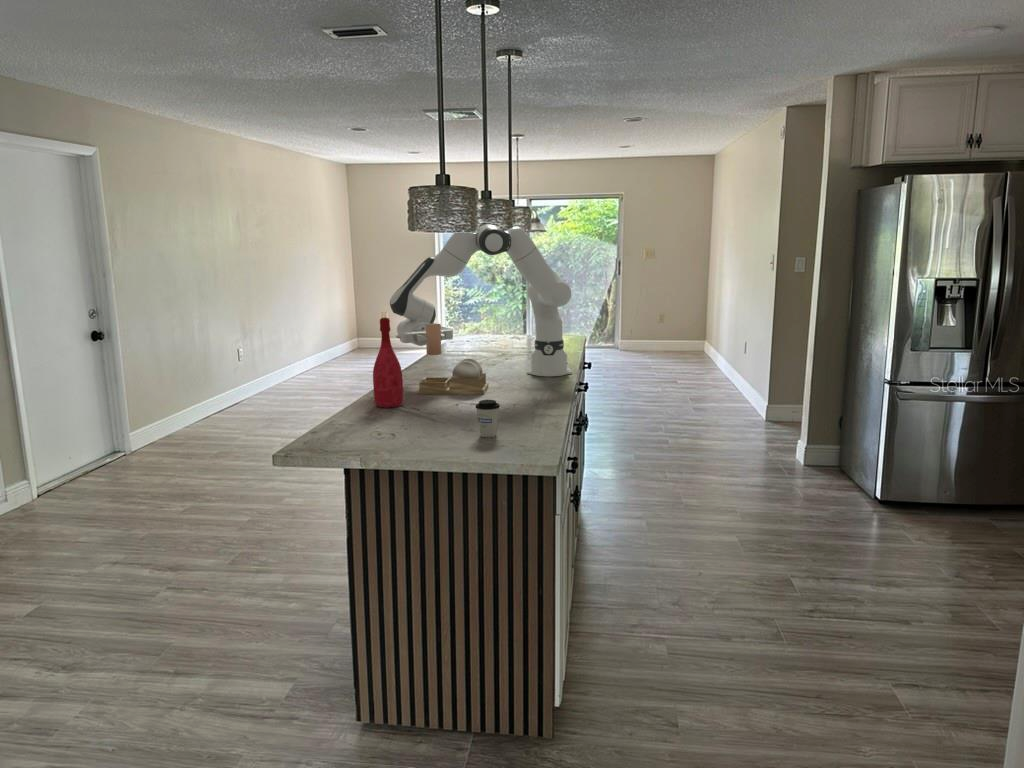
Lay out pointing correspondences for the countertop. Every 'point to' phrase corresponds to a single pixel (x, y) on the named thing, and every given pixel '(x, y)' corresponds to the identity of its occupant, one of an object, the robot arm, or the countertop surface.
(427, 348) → the peach rounded cylinder
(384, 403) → the wine bottle
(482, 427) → the coffee cup
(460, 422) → the countertop surface
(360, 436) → the countertop surface
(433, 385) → the rack
